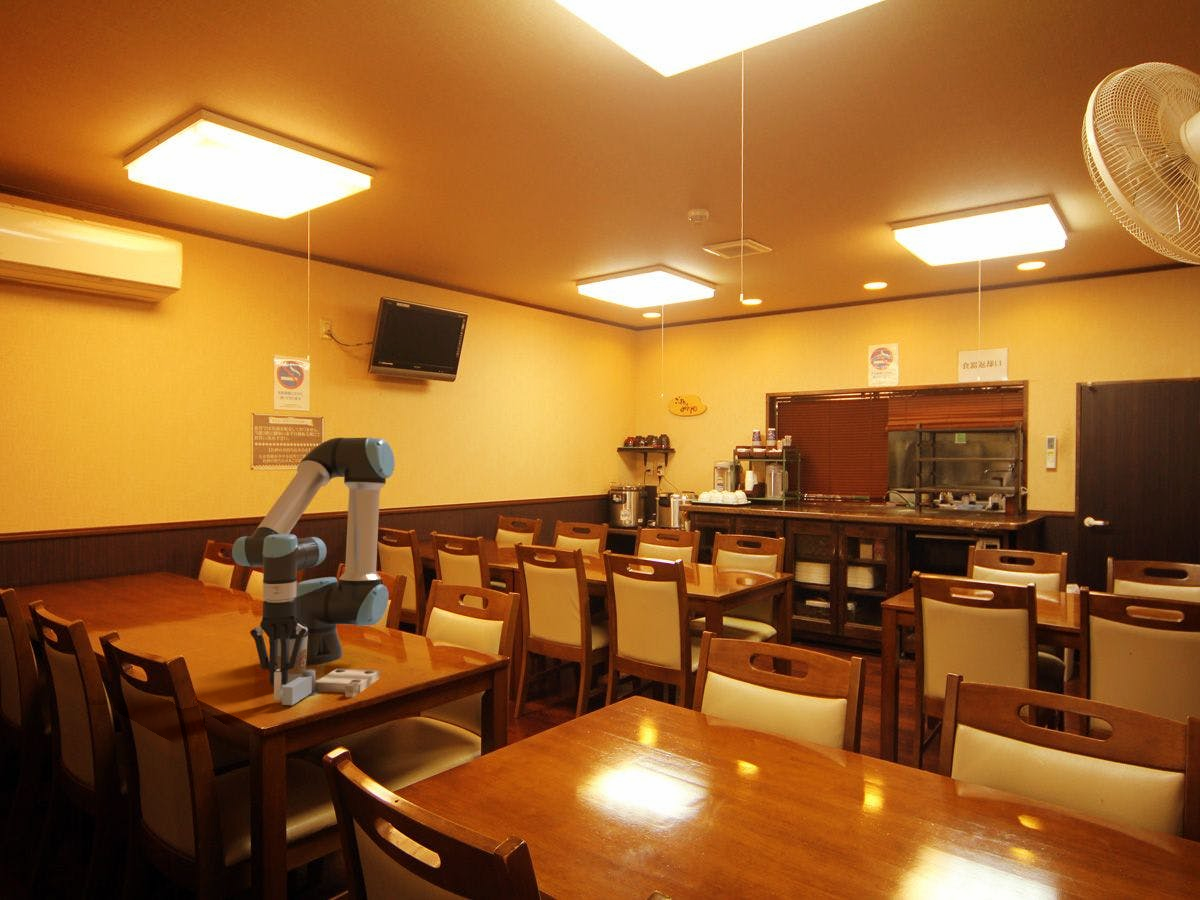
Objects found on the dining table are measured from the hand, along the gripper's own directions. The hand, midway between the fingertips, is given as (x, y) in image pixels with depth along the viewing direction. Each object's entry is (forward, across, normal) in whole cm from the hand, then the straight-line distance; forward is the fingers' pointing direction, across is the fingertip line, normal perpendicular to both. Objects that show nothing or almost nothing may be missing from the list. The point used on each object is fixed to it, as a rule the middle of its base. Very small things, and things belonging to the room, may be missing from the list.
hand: (278, 697), depth 180 cm
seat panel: (+1, +14, +12) cm, 18 cm away
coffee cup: (+2, -1, +15) cm, 15 cm away
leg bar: (+1, +5, +6) cm, 8 cm away
